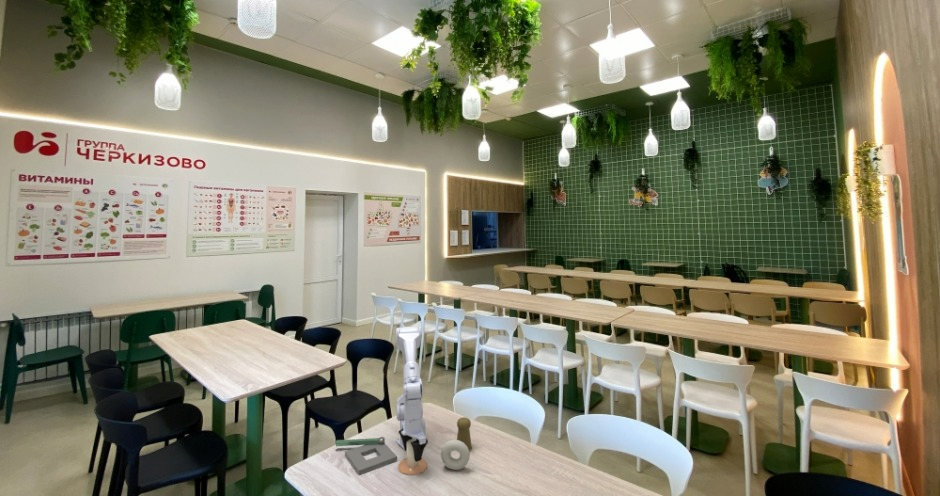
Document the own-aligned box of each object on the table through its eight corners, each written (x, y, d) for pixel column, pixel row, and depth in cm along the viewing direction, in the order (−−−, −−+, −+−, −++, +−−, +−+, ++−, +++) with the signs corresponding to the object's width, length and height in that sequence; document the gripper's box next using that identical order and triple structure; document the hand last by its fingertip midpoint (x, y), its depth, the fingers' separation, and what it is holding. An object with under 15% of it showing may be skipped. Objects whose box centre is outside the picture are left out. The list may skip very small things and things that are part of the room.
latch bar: (384, 441, 147) (384, 436, 146) (384, 444, 144) (384, 440, 144) (336, 443, 144) (336, 439, 144) (335, 447, 142) (335, 442, 142)
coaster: (418, 454, 141) (418, 453, 141) (432, 467, 132) (432, 466, 132) (393, 463, 135) (393, 462, 135) (406, 478, 127) (406, 477, 127)
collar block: (381, 443, 148) (381, 439, 148) (397, 460, 137) (397, 456, 137) (344, 455, 140) (344, 451, 139) (358, 475, 128) (358, 470, 128)
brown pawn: (470, 453, 142) (470, 423, 141) (454, 451, 143) (454, 422, 142) (473, 444, 148) (473, 416, 147) (457, 442, 149) (457, 414, 148)
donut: (470, 467, 133) (470, 438, 133) (468, 473, 130) (469, 444, 129) (441, 464, 134) (442, 436, 134) (439, 470, 131) (440, 441, 131)
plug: (415, 460, 136) (415, 438, 136) (420, 465, 133) (420, 443, 133) (404, 463, 134) (404, 441, 134) (409, 469, 131) (409, 446, 130)
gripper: (393, 411, 136) (393, 449, 137) (412, 428, 125) (412, 469, 125) (410, 406, 141) (410, 443, 141) (431, 422, 129) (431, 462, 129)
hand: (412, 455), depth 133 cm, fingers open, 7 cm apart
